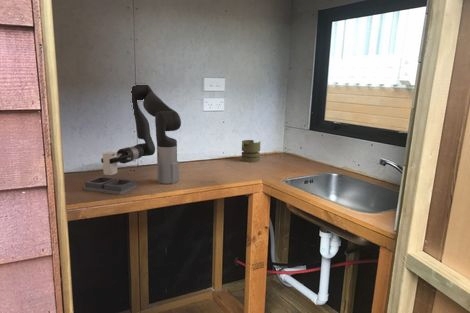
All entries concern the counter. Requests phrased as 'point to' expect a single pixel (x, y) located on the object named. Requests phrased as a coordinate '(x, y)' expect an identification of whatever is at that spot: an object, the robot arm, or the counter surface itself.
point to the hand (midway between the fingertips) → (106, 161)
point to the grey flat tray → (110, 185)
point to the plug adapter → (108, 167)
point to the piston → (250, 151)
